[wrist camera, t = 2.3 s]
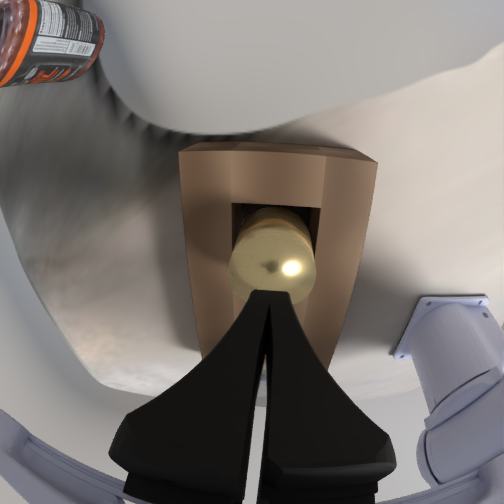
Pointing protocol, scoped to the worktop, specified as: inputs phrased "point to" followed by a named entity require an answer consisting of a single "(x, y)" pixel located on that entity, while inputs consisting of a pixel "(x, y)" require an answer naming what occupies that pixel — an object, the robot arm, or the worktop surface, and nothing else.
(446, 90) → the worktop surface
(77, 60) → the supplement bottle
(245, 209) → the worktop surface
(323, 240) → the walnut block
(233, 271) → the brass peg
